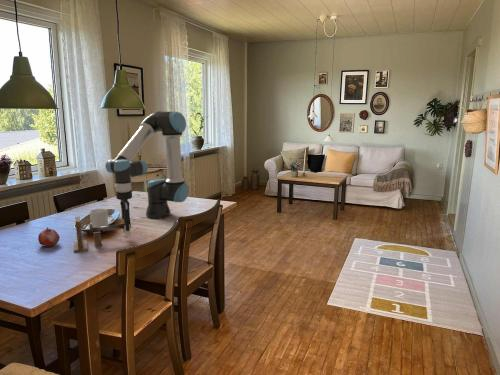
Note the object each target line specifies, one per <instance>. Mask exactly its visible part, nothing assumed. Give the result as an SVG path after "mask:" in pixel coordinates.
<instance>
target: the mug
mask: <svg viewBox="0 0 500 375" xmlns="http://www.w3.org/2000/svg"><path fill="white" fill-rule="evenodd" d="M89 218H90V223H92V228H94V227H102V226H109V212H108V210H107V209H106V208H96V209H92V210H90V211H89Z"/></svg>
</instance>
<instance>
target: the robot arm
mask: <svg viewBox="0 0 500 375" xmlns="http://www.w3.org/2000/svg"><path fill="white" fill-rule="evenodd" d="M186 128H187V121H186V117H185V116H184V115H183V113H181V112H179V111H161V110H160V111H159V110H158V111H154V112H153V113H150V114H149V115H148V116H147V117H145V118H144V120H142V122H140V124H139V128H138V129H137V130H136V131H135V133H134V134H133V136H131V138H130V139H129V141H127V143H126V144H125V146H123V148H122V149H121V150H120V151H119V152H118V154H117V155H116V156H115V157H114V158H112V159H108V160H107V161H106V163H105V169H106V171H107V172H108V173H109V174H113V175H114V179H115V180H114V182H115V184H114V186H113V187H114V188H115V191H116V192H115V195H116V199H117V200H120V201H119V204H120V208H121V219H122V222H123V218H124V224H123V223H122V224H123V225H124V229H125V232H124V229H122V232H123V233H124V237H125V238H129V237H132V236H131V235H132V234H131V228H130V222H131V216H130V202H129V200H130V199H132V198H133V192H132V189H133V188H132V178H133V177H138V176H142V175H145V174H146V173H147V172H148V168H149V167H148V163H147V162H146V161H145V160H136V161H135V160H134V159H135V157H136V156H137V154H138V153H139V152H140V150H141V149H142V148H143V146H145V144H146V142H147V141H148V140H149V139H150V138H151V137H153V136H154V135H155V134H156V133H157V132H161V133H162V137H163V138H164V139H165V141H164V142H165V157H166V158H165V160H166V174H167V176H166V178H156V179H151V180H148V182H147V184H146V186H147V187H146V190H147V191H146V192H147V202H148V203H147V208H146V211H145V217H147V218H149V219H158V220H159V219H164V218H168V217H171V213H172V212H171V210H170V209H171V208H170V206H169V204H168V202H174V203H184V202H185V201H186V200H187V199H188V196H189V192H190V186H189V185H188V184H187V183H186V181H185V179H184V178H183V172H182V171H183V170H182V151H181V137H182V136H183V133H184V132H185V131H186Z"/></svg>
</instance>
